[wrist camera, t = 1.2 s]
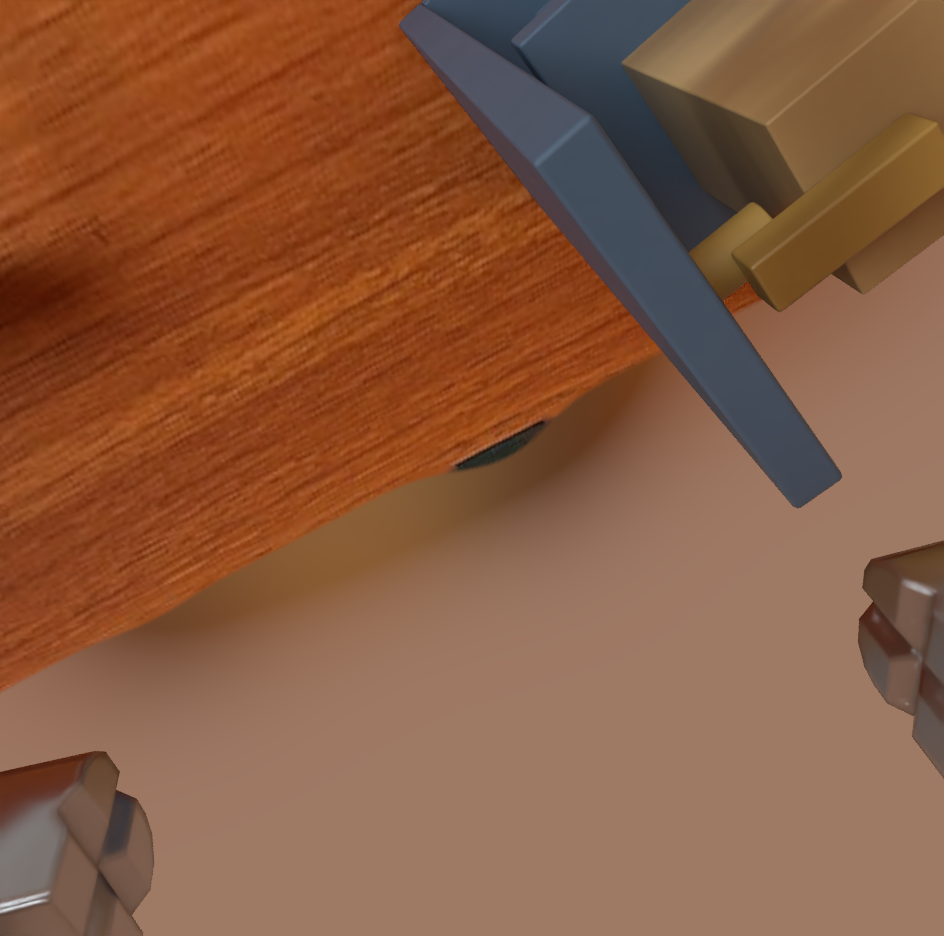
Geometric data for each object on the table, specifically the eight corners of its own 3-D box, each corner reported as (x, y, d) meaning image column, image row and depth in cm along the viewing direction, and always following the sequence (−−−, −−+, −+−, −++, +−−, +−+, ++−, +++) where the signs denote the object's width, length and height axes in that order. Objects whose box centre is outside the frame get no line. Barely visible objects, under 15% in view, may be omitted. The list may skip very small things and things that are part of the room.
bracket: (618, -192, 26) (1179, -406, 9) (743, 33, 30) (1294, 166, 13) (397, 24, 28) (531, 164, 11) (541, 208, 32) (798, 512, 15)
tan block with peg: (776, -78, 18) (1056, -81, 11) (849, 69, 19) (1126, 141, 13) (568, 108, 19) (707, 203, 12) (654, 230, 21) (816, 369, 14)
